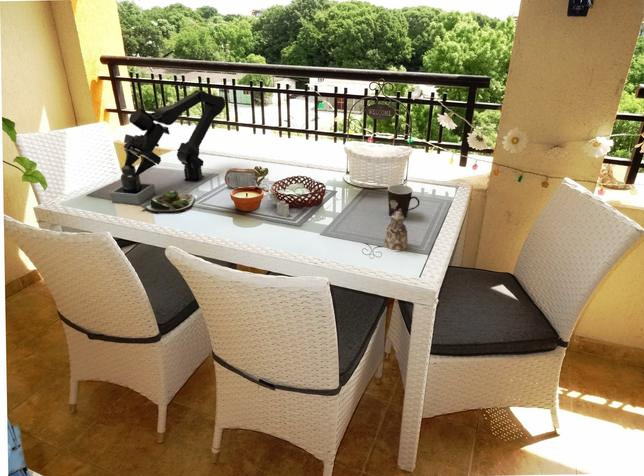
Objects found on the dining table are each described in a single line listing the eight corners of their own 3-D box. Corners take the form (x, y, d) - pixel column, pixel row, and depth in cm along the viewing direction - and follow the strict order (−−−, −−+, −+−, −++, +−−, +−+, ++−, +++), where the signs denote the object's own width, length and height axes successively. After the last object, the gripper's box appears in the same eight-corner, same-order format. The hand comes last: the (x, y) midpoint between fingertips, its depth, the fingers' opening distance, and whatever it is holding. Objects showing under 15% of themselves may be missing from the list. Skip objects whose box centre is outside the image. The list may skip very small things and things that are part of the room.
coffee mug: (381, 212, 165) (383, 186, 160) (401, 208, 168) (403, 183, 163) (398, 225, 155) (400, 198, 151) (419, 221, 158) (422, 194, 154)
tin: (262, 187, 187) (261, 168, 183) (260, 190, 184) (259, 171, 180) (226, 186, 188) (224, 167, 184) (224, 189, 186) (222, 169, 182)
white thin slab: (289, 215, 163) (288, 194, 159) (286, 216, 162) (285, 196, 158) (272, 211, 166) (271, 191, 162) (270, 213, 165) (268, 192, 161)
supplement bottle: (121, 199, 175) (115, 170, 169) (129, 192, 181) (123, 164, 175) (139, 199, 174) (133, 170, 169) (146, 193, 180) (140, 164, 175)
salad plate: (155, 194, 181) (153, 183, 179) (200, 194, 182) (198, 183, 180) (139, 215, 164) (136, 203, 162) (188, 214, 165) (186, 202, 163)
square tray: (155, 193, 181) (153, 184, 180) (139, 204, 171) (137, 195, 170) (129, 191, 184) (127, 181, 182) (112, 202, 174) (109, 192, 172)
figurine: (380, 247, 142) (382, 212, 136) (389, 238, 147) (392, 204, 141) (401, 253, 138) (405, 218, 133) (410, 244, 144) (413, 209, 138)
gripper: (123, 121, 174) (101, 156, 172) (147, 130, 163) (124, 166, 161) (145, 137, 183) (125, 170, 181) (170, 146, 172) (149, 181, 170)
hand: (130, 171), depth 173 cm, fingers open, 9 cm apart
